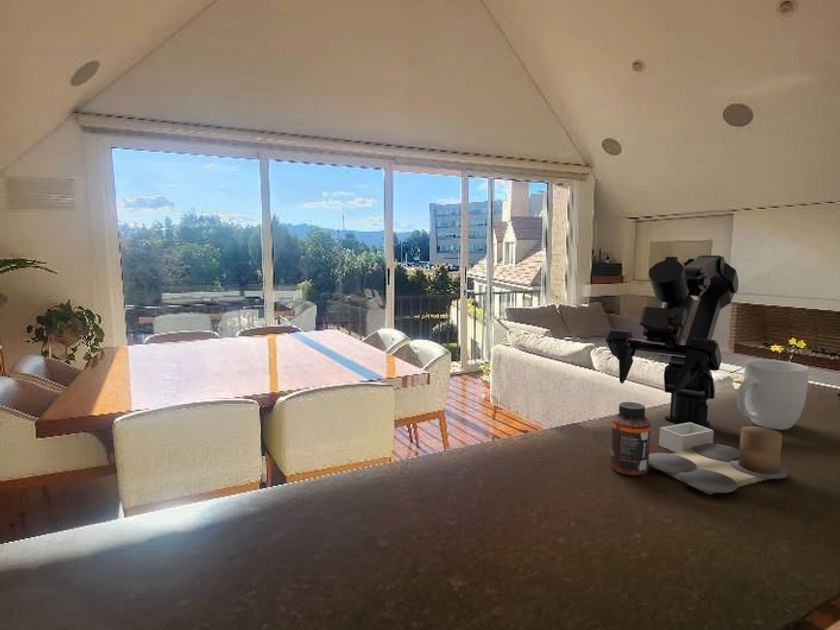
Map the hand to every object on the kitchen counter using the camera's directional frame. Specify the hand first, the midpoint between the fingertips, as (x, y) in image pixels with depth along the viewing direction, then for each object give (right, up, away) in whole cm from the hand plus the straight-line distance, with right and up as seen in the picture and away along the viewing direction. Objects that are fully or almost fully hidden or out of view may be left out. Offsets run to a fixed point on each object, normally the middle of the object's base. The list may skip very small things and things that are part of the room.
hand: (647, 386), depth 88 cm
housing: (+10, -12, +7) cm, 17 cm away
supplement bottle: (-5, -14, -3) cm, 15 cm away
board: (+9, -14, -3) cm, 17 cm away
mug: (+34, -11, +18) cm, 40 cm away
